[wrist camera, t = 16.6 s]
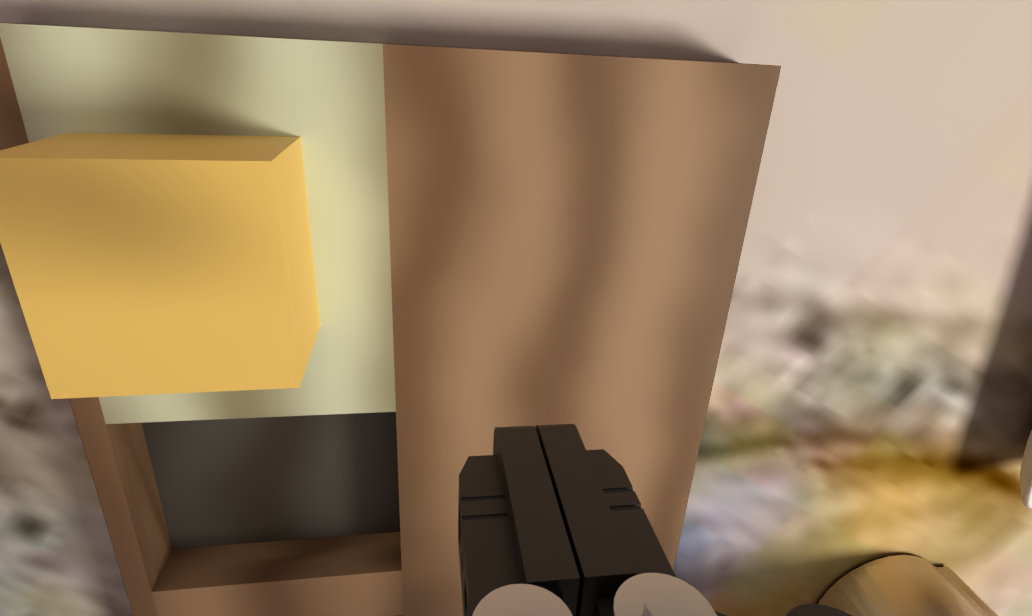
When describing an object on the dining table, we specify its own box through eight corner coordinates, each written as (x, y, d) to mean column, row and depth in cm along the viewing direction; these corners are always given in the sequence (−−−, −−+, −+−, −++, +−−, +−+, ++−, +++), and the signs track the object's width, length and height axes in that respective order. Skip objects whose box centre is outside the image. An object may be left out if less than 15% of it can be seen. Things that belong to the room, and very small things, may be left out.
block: (300, 136, 20) (271, 161, 16) (320, 325, 23) (299, 388, 19) (68, 132, 19) (-28, 157, 15) (120, 331, 21) (51, 399, 17)
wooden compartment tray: (739, 63, 24) (781, 66, 21) (627, 661, 38) (643, 708, 36) (19, 23, 20) (-43, 20, 17) (197, 712, 34) (179, 769, 32)
